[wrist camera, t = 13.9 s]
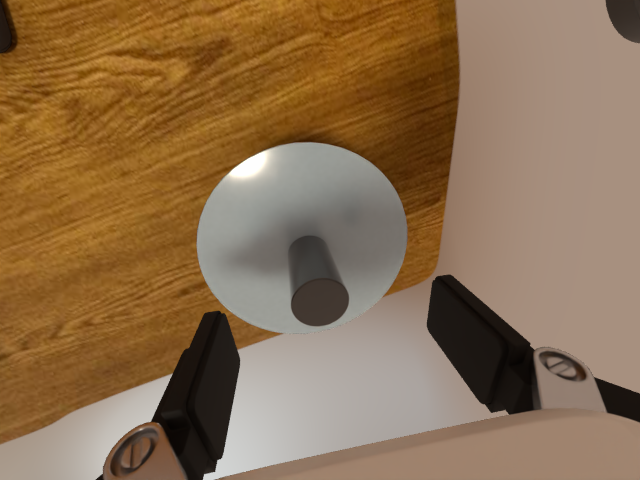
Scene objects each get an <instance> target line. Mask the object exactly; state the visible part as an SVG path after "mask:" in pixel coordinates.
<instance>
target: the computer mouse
mask: <svg viewBox="0 0 640 480" xmlns="http://www.w3.org/2000/svg"><path fill="white" fill-rule="evenodd" d="M11 42H12V37H11V32H10V29H9V26H8V23H7V20H6V16H5V13H4V10H3V7H2V4H1V0H0V53H2V52H4V51H6V50H7V49H8V48H9V47H10V45H11Z"/></svg>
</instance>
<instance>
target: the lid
mask: <svg viewBox="0 0 640 480" xmlns="http://www.w3.org/2000/svg"><path fill="white" fill-rule="evenodd" d="M406 245H407V223H406V216H405V212H404V209H403V205H402V202H401V200H400V198H399V196H398V194H397V192H396V190H395V189H394V187H393V186H392V184H391V182H390V181H389V180H388V179H387V178H386V176H385V175H384V174H383V173H382V172H381V171H380V170H379V169H378V168H377V167H375V166H374V165H373V164H372V163H371V162H369V161H368V160H366V159H365V158H363V157H361V156H360V155H358V154H356V153H354V152H351V151H349V150H347V149H344V148H341V147H337V146H334V145H330V144H325V143H316V142H294V143H288V144H282V145H278V146H275V147H271V148H268V149H265V150H263V151H261V152H259V153H256V154H254V155H252V156H250V157H248V158H247V159H246V160H244V161H243V162H241V163H240V164H238V165H237V166H235V167H234V168H233V169H232V170H231V171H230V172H229V173H228V174H227V175H226V176H224V177H223V178H222V180H221V181H220V182H219V183H218V185H217V186H216V187H215V188H214V190H213V191H212V193H211V195H210V196H209V198H208V200H207V202H206V203H205V206H204V209H203V211H202V214H201V216H200V221H199V225H198V230H197V254H198V260H199V264H200V268H201V271H202V273H203V276H204V278H205V280H206V283H207V284H208V286H209V288H210V289H211V291H212V293H213V294H214V295H215V296H216V298H217V299H218V300H219V301H220V302H221V303H222V304H223V305H224V306H225V307H226V308H227V309H228V310H229V311H230V312H232V313H233V314H235V315H236V316H237V317H239V318H240V319H242V320H244V321H246V322H248V323H250V324H252V325H254V326H257V327H259V328H262V329H266V330H269V331H273V332H279V333H287V334H308V333H316V332H321V331H325V330H329V329H332V328H335V327H338V326H341V325H343V324H345V323H347V322H350V321H351V320H353V319H355V318H357V317H359V316H360V315H362V314H363V313H364V312H366V311H367V310H368V309H370V308H371V307H372V306H373V305H374V304H375V303H377V302H378V301H379V300H380V299H381V297H382V296H383V295H384V294H385V293H386V292H387V290H388V289H389V288H390V286H391V285H392V283H393V282H394V280H395V278H396V276H397V274H398V273H399V270H400V268H401V265H402V263H403V259H404V255H405V252H406Z"/></svg>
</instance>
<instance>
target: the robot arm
mask: <svg viewBox="0 0 640 480" xmlns="http://www.w3.org/2000/svg"><path fill="white" fill-rule="evenodd" d="M427 328H428V330H429V333H430V334H431V335H432V337H433V338H434V340H435V341H436V342H437V344H438V345H439V346H440V348H441V349H442V351H443V352H444V353H445V355H446V356H447V358H448V359H449V360H450V362H451V363H452V364H453V366H454V367H455V368H456V370H457V371H458V373H459V374H460V376H461V377H462V378H463V380H464V381H465V383H466V384H467V385H468V387H469V388H470V390H471V391H472V392H473V394H474V395H475V396H476V398H477V399H478V400H479V402H480V403H482V404H485V405H486V406H487V408H488V409H489V411H490V412H491V413H493V412H498V411H503V410H506V411H507V412H508V414H509V415H506V416H501V417H496V418H491V419H486V420H481V421H476V422H471V423H466V424H461V425H457V426H452V427H447V428H442V429H438V430H433V431H428V432H423V433H418V434H414V435H409V436H404V437H400V438H395V439H390V440H386V441H381V442H376V443H372V444H367V445H362V446H358V447H353V448H349V449H345V450H340V451H335V452H330V453H326V454H322V455H317V456H312V457H308V458H304V459H299V460H294V461H290V462H285V463H281V464H276V465H271V466H267V467H263V468H259V469H255V470H251V471H247V472H242V473H239V474H234V475H230V476H226V477H222V478H219V479H216V480H640V394H639V393H636V392H633V391H631V390H628V389H625V388H622V387H620V386H617V385H614V384H612V383H609V382H606V381H603V380H601V379H598V378H595V377H594V376H593V374H592V372H591V371H590V369H589V368H588V367H587V366H586V365H585V364H584V363H583V362H582V361H580V360H579V359H577V358H576V357H574V356H573V355H571V354H569V353H567V352H564V351H562V350H559V349H555V348H551V347H540V348H537V349H536V350H534V349H533V348H532V347H531V346H530V343H529V342H528V341H527V340H526V339H525V338H524V337H523V336H521V335H520V334H519V333H518V332H517V331H516V330H514V329H513V328H512V327H511V326H510V325H509V324H508V323H506V322H505V321H504V320H503V319H501V317H499V316H498V315H497V314H496V313H495V312H494V311H492V310H491V309H490V308H489V307H488V306H487V305H485V304H484V303H483V302H482V301H481V300H480V299H479V298H477V297H476V296H475V295H474V294H473V293H472V292H470V291H469V290H468V289H467V288H466V287H465V286H463V285H462V284H461V283H460V282H459V281H457V279H455V278H454V277H453V276H452V275H443V276H437V277H436V278H435V280H433V282H432V288H431V297H430V303H429V311H428V319H427ZM239 368H240V357H239V354H238V351H237V348H236V345H235V342H234V338H233V335H232V332H231V329H230V326H229V323H228V320H227V317H226V315H225V314H224V313H223V314H221V312H220V311H214V312H207V313H205V314H204V315H203V317H202V320H201V322H200V324H199V327H198V329H197V331H196V334H195V336H194V338H193V340H192V343H191V345H190V347H189V348H188V349H186V350H184V352H183V353H182V355H181V357H180V359H179V362H178V364H177V366H176V368H175V370H174V372H173V375H172V377H171V379H170V381H169V384H168V386H167V388H166V390H165V392H164V395H163V397H162V399H161V401H160V403H159V405H158V407H157V410H156V412H155V414H154V416H153V419H152V421H151V422H148V423H144V424H142V425H139V426H137V427H135V428H134V429H132V430H131V431H129V432H128V433H127V434H126V435H124V436H123V437H122V438H121V439H120V440H119V441H118V443H116V445H115V446H114V447H113V448H112V450H111V451H110V453H109V455H108V457H107V458H106V461H105V464H104V466H103V474H102V475H101V476H100V477H98V478H97V479H96V480H203V476H204V474H207V473H211V472H215V469H216V464H217V460H219V459H221V458H222V456H223V452H224V447H225V442H226V436H227V431H228V426H229V420H230V415H231V409H232V405H233V399H234V394H235V389H236V383H237V378H238V373H239Z"/></svg>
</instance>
